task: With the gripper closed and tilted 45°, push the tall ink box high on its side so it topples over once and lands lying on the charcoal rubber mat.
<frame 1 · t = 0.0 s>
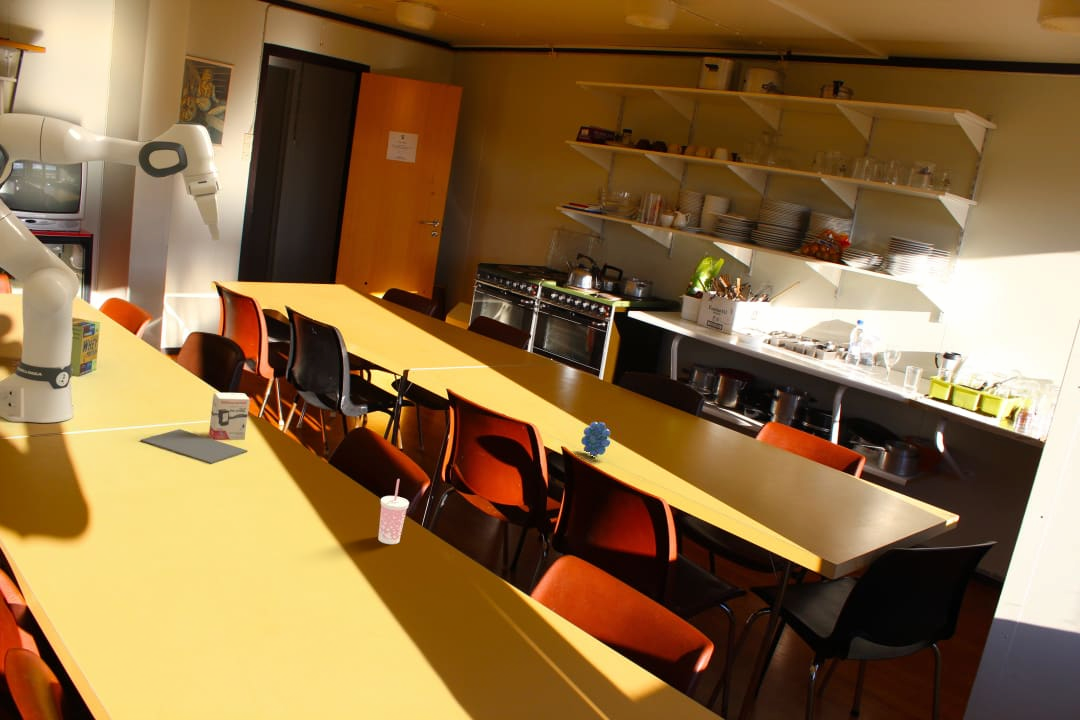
hand: (216, 237, 236), 52 cm above the table, tool tilted 20°, fingers open, 8 cm apart
protein box: (63, 369, 275), on the table
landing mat: (194, 446, 230), on the table
beverage cup: (388, 540, 195), on the table
grapes: (594, 457, 286), on the table
ink box: (226, 437, 241), on the table
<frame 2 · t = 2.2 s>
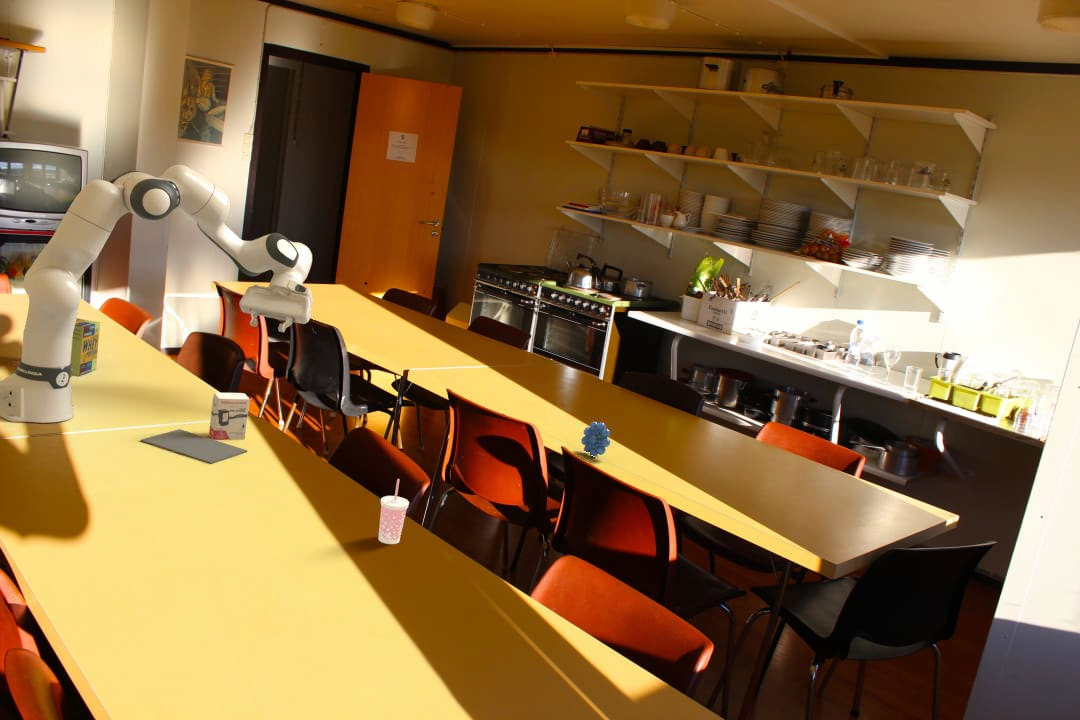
hand: (266, 327, 255), 28 cm above the table, tool tilted 45°, fingers open, 7 cm apart
nothing on the table moved.
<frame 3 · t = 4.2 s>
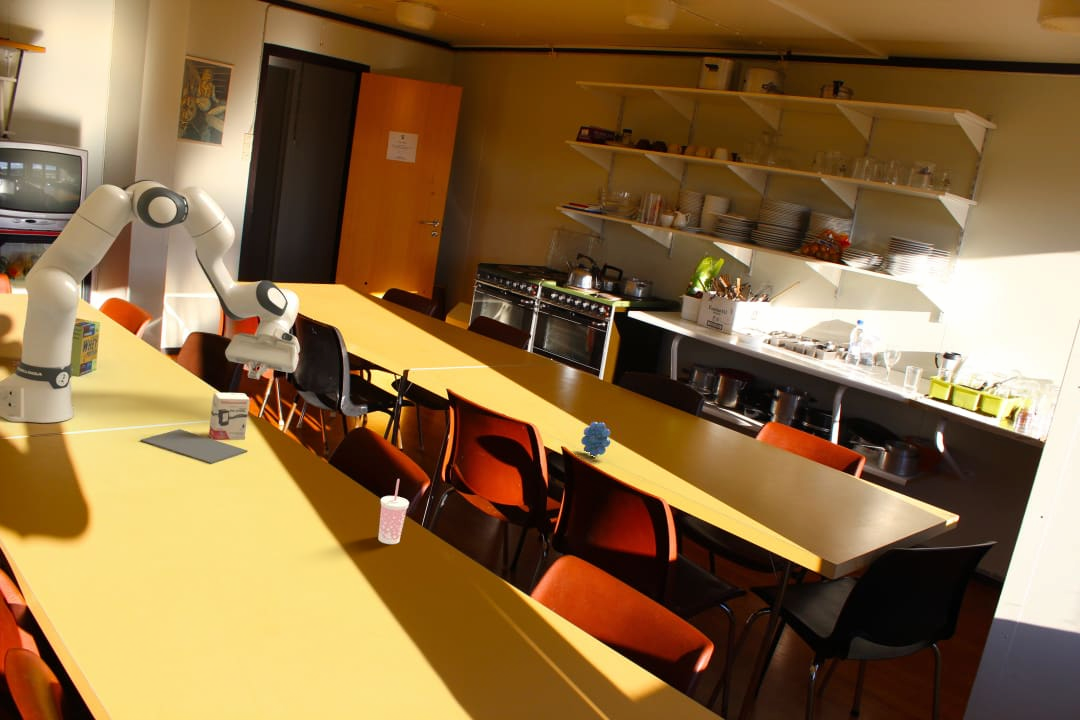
hand: (252, 377, 252), 14 cm above the table, tool tilted 45°, fingers closed
nothing on the table moved.
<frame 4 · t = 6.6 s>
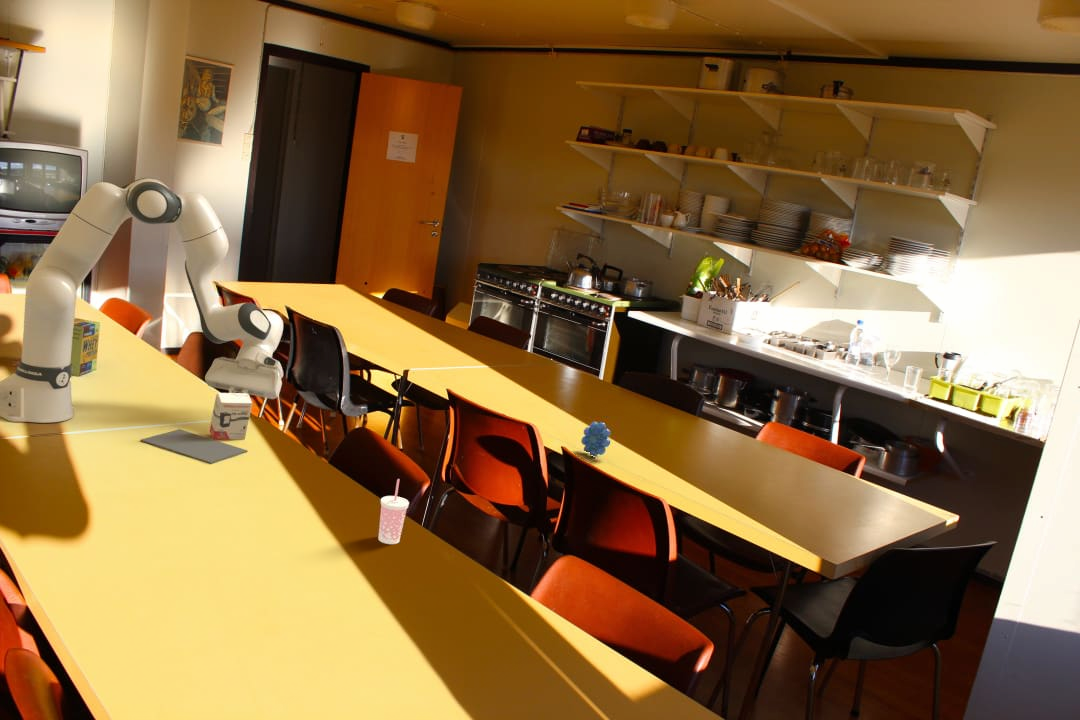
hand: (233, 404, 242), 9 cm above the table, tool tilted 45°, fingers closed
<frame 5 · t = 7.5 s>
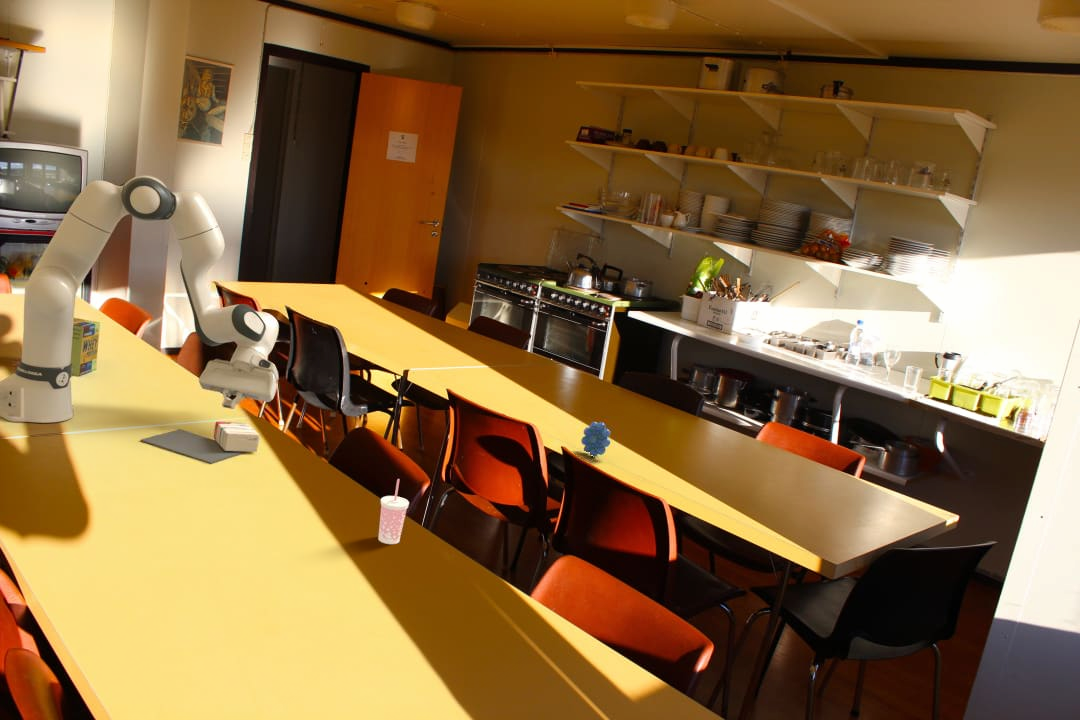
hand: (227, 407, 238), 9 cm above the table, tool tilted 45°, fingers closed
ink box: (230, 430, 239), point 2 cm above the table, touching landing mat
everything else where it was.
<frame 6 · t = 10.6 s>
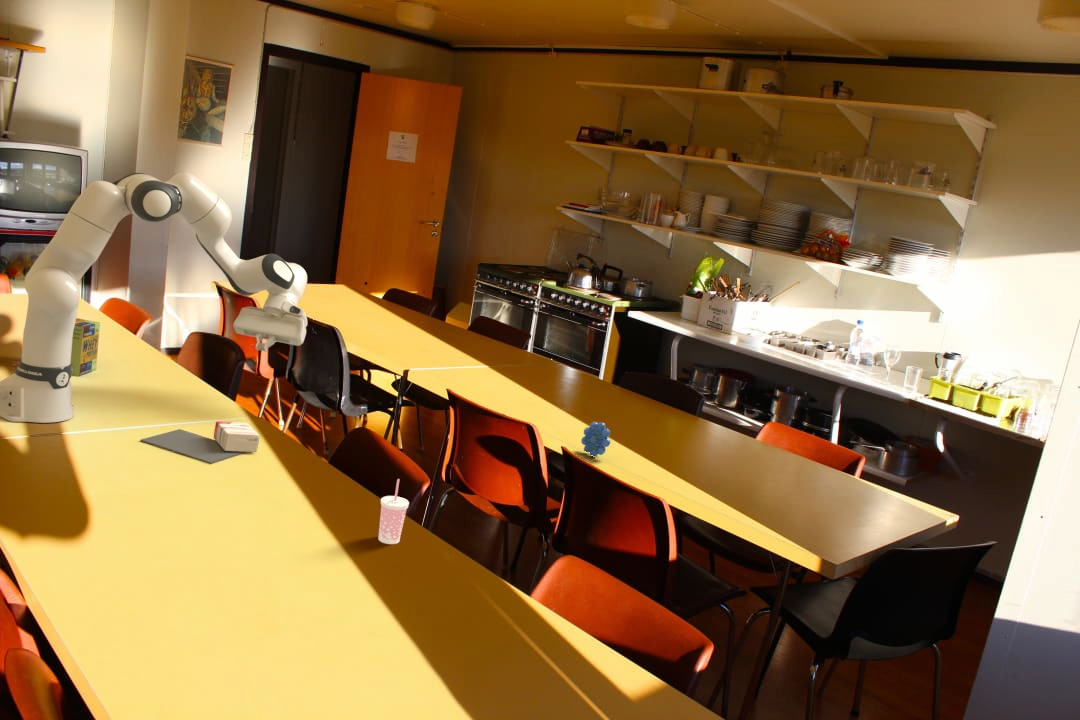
hand: (260, 349, 253), 22 cm above the table, tool tilted 45°, fingers closed
nothing on the table moved.
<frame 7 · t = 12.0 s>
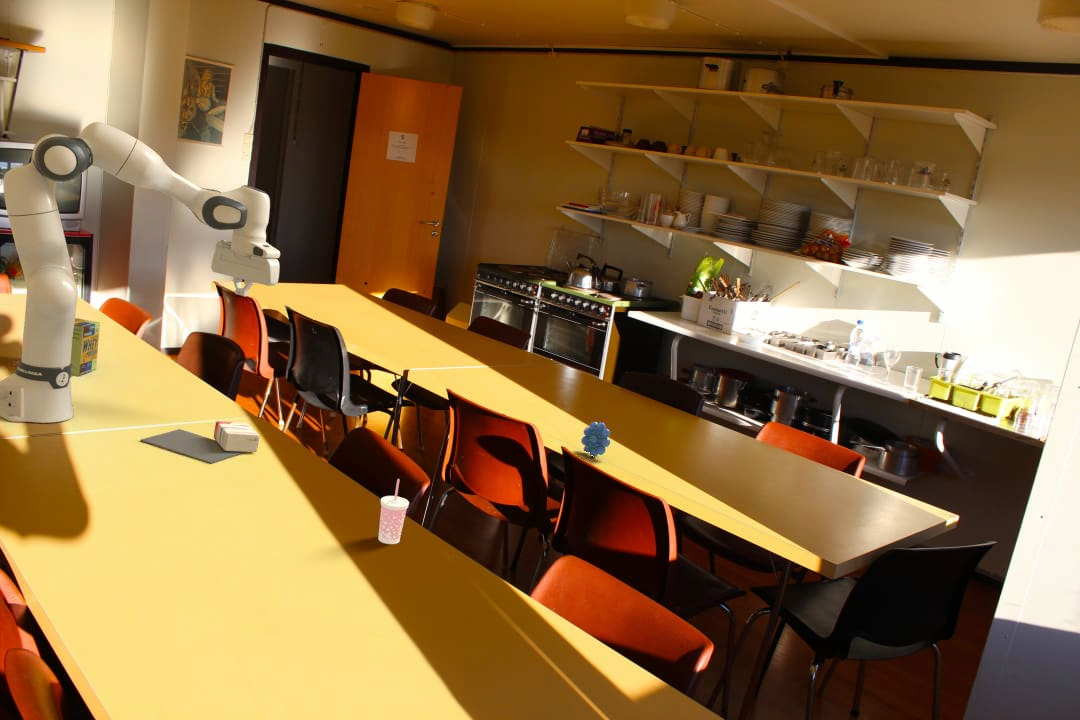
hand: (241, 295, 249), 36 cm above the table, tool pointing down, fingers closed
nothing on the table moved.
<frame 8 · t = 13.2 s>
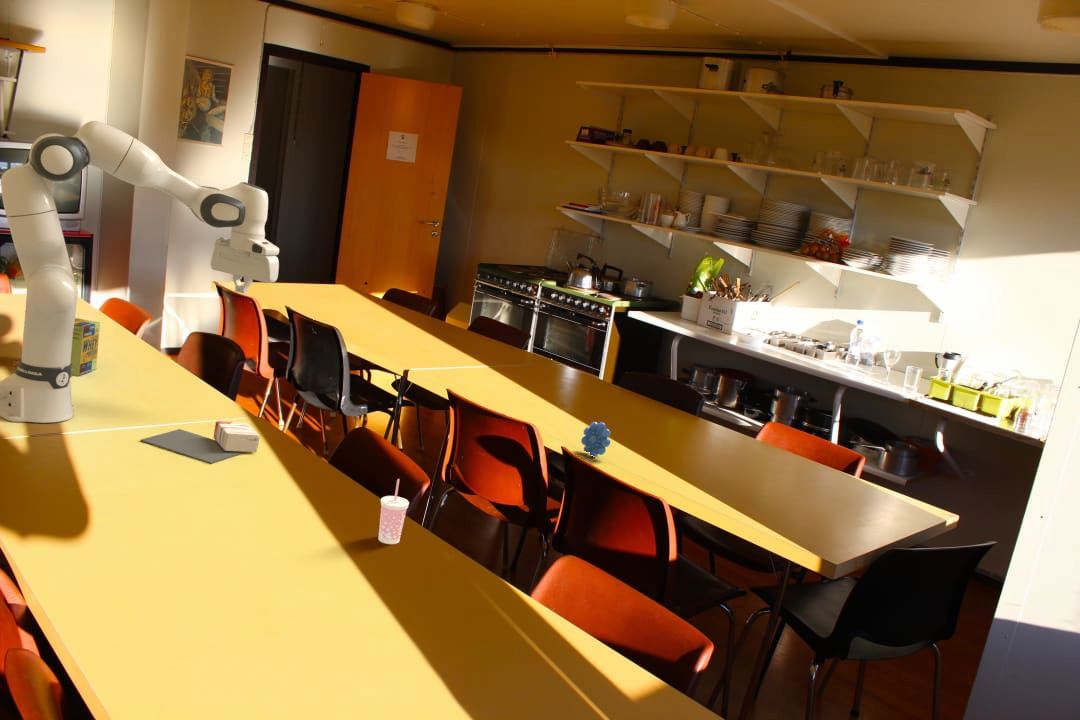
hand: (241, 292, 249), 37 cm above the table, tool pointing down, fingers closed
nothing on the table moved.
at the end: ink box tilted 87°; ink box touching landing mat, table; ink box inside the target area (3.4 cm from its centre), point 2.5 cm above the table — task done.
